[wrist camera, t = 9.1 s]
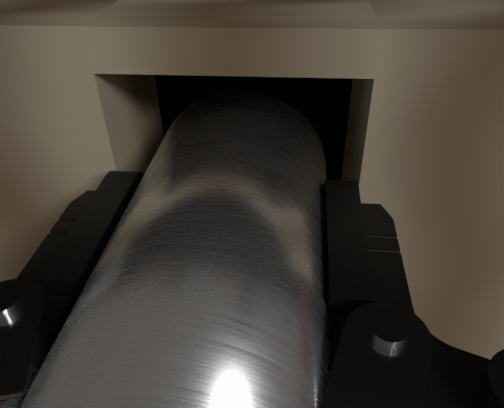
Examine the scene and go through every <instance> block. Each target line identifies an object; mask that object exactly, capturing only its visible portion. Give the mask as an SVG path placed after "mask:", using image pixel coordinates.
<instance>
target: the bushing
mask: <svg viewBox="0 0 504 408" xmlns="http://www.w3.org/2000/svg"><path fill="white" fill-rule="evenodd" d="M325 180H326V161H325V154H324V150H323V146H322V143H321V141H320V139H319V137H318V135H317V133H316V131H315V130H314V128H313V127H312V125H311V124H310V123H309V122H308V121H307V119H306V118H305V117H304V116H303V115H302V114H300V113H299V112H298V111H297V110H296V109H294V108H293V107H291V106H290V105H288V104H287V103H285V102H283V101H281V100H279V99H277V98H275V97H272V96H269V95H266V94H263V93H258V92H254V91H244V90H232V91H223V92H218V93H214V94H211V95H208V96H205V97H203V98H201V99H199V100H197V101H195V102H193V103H192V104H190V105H189V106H187V107H186V108H185V109H184V110H183V111H182V112H181V113H180V114H179V115H178V116H177V117H176V119H175V120H174V121H173V123H172V124H171V126H170V128H169V130H168V131H167V133H166V135H165V137H164V139H163V141H162V143H161V144H160V146H159V148H158V150H157V152H156V154H155V156H154V157H153V159H152V161H151V163H150V165H149V167H148V169H147V171H146V172H145V174H144V176H143V178H142V180H141V182H140V184H139V185H138V187H137V189H136V191H135V193H134V195H133V197H132V198H131V200H130V202H129V204H128V206H127V208H126V210H125V211H124V213H123V215H122V217H121V219H120V221H119V223H118V224H117V226H116V228H115V230H114V232H113V234H112V236H111V238H110V239H109V241H108V243H107V245H106V247H105V249H104V251H103V252H102V254H101V256H100V258H99V260H98V262H97V264H96V265H95V267H94V269H93V271H92V273H91V275H90V277H89V278H88V280H87V282H86V284H85V286H84V288H83V290H82V292H81V293H80V295H79V297H78V299H77V301H76V303H75V305H74V306H73V308H72V310H71V312H70V314H69V316H68V318H67V319H66V321H65V323H64V325H63V327H62V329H61V331H60V332H59V334H58V336H57V338H56V340H55V342H54V344H53V345H52V347H51V349H50V351H49V353H48V355H47V357H46V359H45V360H44V362H43V364H42V366H41V368H40V370H39V372H38V373H37V375H36V377H35V379H34V381H33V383H32V385H31V386H30V388H29V390H28V392H27V394H26V396H25V398H24V400H23V402H22V404H21V406H20V408H319V407H320V404H321V401H322V398H323V394H324V391H325V388H326V385H327V381H328V378H329V375H330V372H331V369H332V365H333V362H334V348H333V330H332V324H331V320H330V317H329V315H328V290H327V259H326V229H325V198H324V183H325Z"/></svg>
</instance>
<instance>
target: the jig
mask: <svg viewBox="0 0 504 408" xmlns="http://www.w3.org/2000/svg"><path fill="white" fill-rule="evenodd" d="M155 75H190V76H243V77H296V78H349V79H352V87H351V96H350V105H349V114H348V123H347V132H346V141H345V149H344V158H343V167H342V176H341V180H346V181H358V185H359V192H360V199H361V203H368V204H381V205H382V206H383V208H384V209H385V210H386V211H387V212H388V213H389V215H390V216H391V217H392V218H393V219H394V224H395V228H396V233H397V239H398V242H399V246H400V254H401V255H402V260H403V264H404V269H405V273H406V278H407V282H408V287H409V291H410V296H411V300H412V305H413V309H414V312H415V314H416V315H417V316H418V317H419V318H420V319H421V320H422V321H423V322H424V323H425V325H426V326H427V328H428V329H429V332H430V333H431V334H432V335H433V336H435V337H436V338H438V339H439V340H441V341H443V342H444V343H446V344H448V345H450V346H453V347H455V348H458V349H461V350H464V351H467V352H470V353H473V354H475V355H478V356H481V357H484V358H487V359H490V360H491V358H492V357H493V356H494V355H495V354H496V353H497V352H499V351H501V350H502V349H504V0H0V282H2V281H5V280H10V279H16V278H17V277H18V275H19V274H20V272H21V271H22V270H23V268H24V267H25V265H26V264H27V263H28V261H29V260H30V258H31V257H32V256H33V254H34V253H35V251H36V250H37V249H38V247H39V246H40V244H41V243H42V241H43V240H44V239H45V237H46V236H47V234H50V230H51V229H52V227H53V226H54V225H55V223H56V222H57V221H59V217H60V216H61V215H62V213H63V212H64V210H65V209H66V208H67V206H68V205H69V203H71V202H72V201H73V200H75V199H76V198H77V197H79V196H80V195H82V194H83V193H84V192H86V191H87V190H90V191H96V189H97V188H98V186H99V185H100V183H101V182H102V180H103V179H104V177H105V176H106V174H107V173H108V172H109V171H135V172H142V173H143V174H145V172H146V171H147V169H148V167H149V165H150V163H151V161H152V159H153V157H154V156H155V154H156V152H157V150H158V148H159V146H160V144H161V143H162V141H163V139H164V134H163V127H162V120H161V114H160V107H159V101H158V94H157V87H156V81H155Z"/></svg>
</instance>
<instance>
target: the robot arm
mask: <svg viewBox="0 0 504 408" xmlns="http://www.w3.org/2000/svg"><path fill="white" fill-rule="evenodd" d="M143 176H144V174H143V173H142V172H135V171H109V172H108V173H107V174H106V176H105V177H104V179H103V180H102V182H101V183H100V185H99V186H98V188H97V189H96V191H90V190H87V191H86V192H84V193H83V194H82V195H80V196H79V197H77V198H76V199H75V200H73V201H72V202H71V203H69V205H68V206H67V208H66V209H65V210H64V212H63V213H62V215H61V216H60V217H59V221H57V222H56V223H55V225H54V226H53V227H52V229H51V230H50V234H47V236H46V237H45V239H44V240H43V241H42V243H41V244H40V246H39V247H38V249H37V250H36V251H35V253H34V254H33V256H32V257H31V258H30V260H29V261H28V263H27V264H26V265H25V267H24V268H23V270H22V271H21V272H20V274H19V275H18V277H17V278H16V279H10V280H5V281H2V282H0V408H20V406H21V404H22V402H23V400H24V398H25V396H26V394H27V392H28V390H29V388H30V386H31V385H32V383H33V381H34V379H35V377H36V375H37V373H38V372H39V370H40V368H41V366H42V364H43V362H44V360H45V359H46V357H47V355H48V353H49V351H50V349H51V347H52V345H53V344H54V342H55V340H56V338H57V336H58V334H59V332H60V331H61V329H62V327H63V325H64V323H65V321H66V319H67V318H68V316H69V314H70V312H71V310H72V308H73V306H74V305H75V303H76V301H77V299H78V297H79V295H80V293H81V292H82V290H83V288H84V286H85V284H86V282H87V280H88V278H89V277H90V275H91V273H92V271H93V269H94V267H95V265H96V264H97V262H98V260H99V258H100V256H101V254H102V252H103V251H104V249H105V247H106V245H107V243H108V241H109V239H110V238H111V236H112V234H113V232H114V230H115V228H116V226H117V224H118V223H119V221H120V219H121V217H122V215H123V213H124V211H125V210H126V208H127V206H128V204H129V202H130V200H131V198H132V197H133V195H134V193H135V191H136V189H137V187H138V185H139V184H140V182H141V180H142V178H143ZM324 198H325V229H326V259H327V290H328V315H329V317H330V320H331V324H332V330H333V348H334V362H333V365H332V369H331V372H330V375H329V378H328V381H327V385H326V388H325V391H324V394H323V398H322V401H321V404H320V407H319V408H504V349H502V350H501V351H499V352H497V353H496V354H495V355H494V356H493V357H492V358H491V360H490V359H487V358H484V357H481V356H478V355H475V354H473V353H470V352H467V351H464V350H461V349H458V348H455V347H453V346H450V345H448V344H446V343H444V342H443V341H441V340H439V339H438V338H436V337H435V336H433V335H432V334H431V333H430V332H429V329H428V328H427V326H426V325H425V323H424V322H423V321H422V320H421V319H420V318H419V317H418V316H417V315H416V314H415V312H414V309H413V305H412V300H411V296H410V291H409V287H408V282H407V278H406V273H405V269H404V264H403V260H402V255H401V254H400V246H399V242H398V239H397V233H396V228H395V224H394V219H393V218H392V217H391V216H390V215H389V213H388V212H387V211H386V210H385V209H384V208H383V206H382V205H381V204H368V203H361V199H360V192H359V185H358V181H346V180H325V183H324Z"/></svg>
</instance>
